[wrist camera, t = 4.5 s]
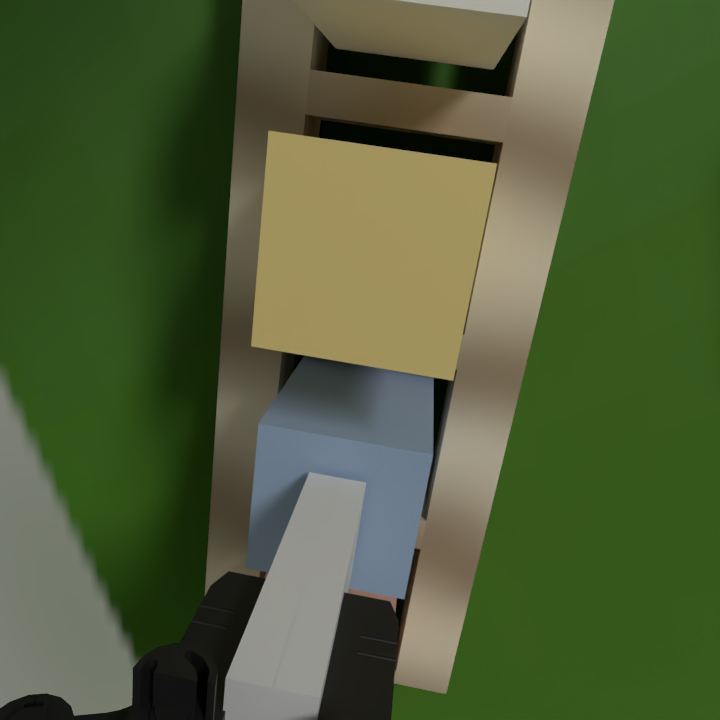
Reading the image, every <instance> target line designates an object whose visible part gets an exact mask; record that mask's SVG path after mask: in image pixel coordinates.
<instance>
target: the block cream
mask: <svg viewBox="0 0 720 720" xmlns="http://www.w3.org/2000/svg"><path fill="white" fill-rule="evenodd" d="M293 1H294V2H295V3H296V4H297V5H298V6H299V7H300V9H301V10H302V11H303V12H304V13H305V14H306V15H307V16H308V18H309V19H310V20H311V21H312V22H313V23H314V24H315V26H316V27H317V28H318V29H319V30H320V31H321V32H322V33H323V35H324V36H325V37H326V38H327V39H328V40H329V41H330V42H331V44H332V45H333V46H334V47H335V48H336V49H342V50H350V51H357V52H365V53H372V54H379V55H387V56H394V57H402V58H409V59H417V60H424V61H432V62H439V63H447V64H454V65H462V66H469V67H477V68H484V69H492V70H494V68H495V67H496V65H497V64H498V62H499V60H500V59H501V57H502V56H503V54H504V53H505V51H506V49H507V48H508V46H509V45H510V43H511V41H512V40H513V38H514V37H515V35H516V34H517V32H518V30H519V29H520V27H521V26H522V24H523V22H524V21H525V19H526V18H527V14H528V9H529V4H530V0H293Z"/></svg>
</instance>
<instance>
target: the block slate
mask: <svg viewBox="0 0 720 720" xmlns="http://www.w3.org/2000/svg"><path fill="white" fill-rule="evenodd" d="M433 418H434V377H428V376H422V375H417V374H411V373H405V372H399V371H393V370H387V369H381V368H375V367H370V366H364V365H358V364H352V363H346V362H340V361H334V360H329V359H323V358H317V357H311V356H304V357H303V358H302V360H301V361H300V363H299V364H298V366H297V367H296V369H295V370H294V372H293V373H292V375H291V376H290V378H289V379H288V381H287V382H286V384H285V385H284V387H283V388H282V390H281V391H280V392H279V394H278V395H277V397H276V398H275V400H274V401H273V403H272V404H271V406H270V407H269V409H268V410H267V412H266V413H265V415H264V416H263V418H262V419H261V421H260V422H259V424H258V435H257V446H256V457H255V469H254V480H253V491H252V502H251V513H250V524H249V536H248V547H247V558H246V568H247V569H252V570H258V571H263V572H269V570H270V568H271V565H272V563H273V560H274V558H275V555H276V553H277V550H278V548H279V545H280V543H281V541H282V538H283V536H284V533H285V531H286V528H287V526H288V523H289V521H290V518H291V516H292V513H293V511H294V509H295V506H296V504H297V501H298V499H299V496H300V494H301V491H302V489H303V486H304V484H305V482H306V479H307V477H308V474H309V472H311V473H317V474H322V475H328V476H333V477H338V478H344V479H349V480H355V481H360V482H366V488H365V494H364V500H363V506H362V512H361V519H360V525H359V531H358V537H357V544H356V550H355V556H354V562H353V568H352V574H351V579H350V584H349V589H354V590H359V591H364V592H369V593H374V594H379V595H385V596H390V597H395V598H400V599H405V594H406V589H407V584H408V579H409V574H410V569H411V564H412V559H413V554H414V549H415V544H416V539H417V534H418V529H419V524H420V519H421V514H422V509H423V503H424V498H425V493H426V488H427V483H428V478H429V473H430V468H431V463H432V458H433Z"/></svg>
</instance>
